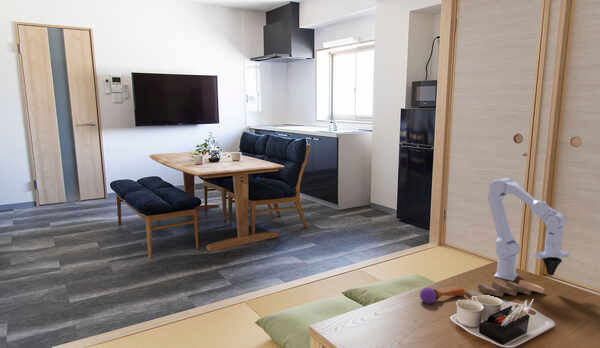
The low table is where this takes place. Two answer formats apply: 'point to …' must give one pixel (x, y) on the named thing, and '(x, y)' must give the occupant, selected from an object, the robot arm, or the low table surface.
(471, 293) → the walnut domino
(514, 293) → the walnut domino
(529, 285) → the terracotta domino
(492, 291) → the walnut domino
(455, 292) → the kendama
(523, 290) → the walnut domino
